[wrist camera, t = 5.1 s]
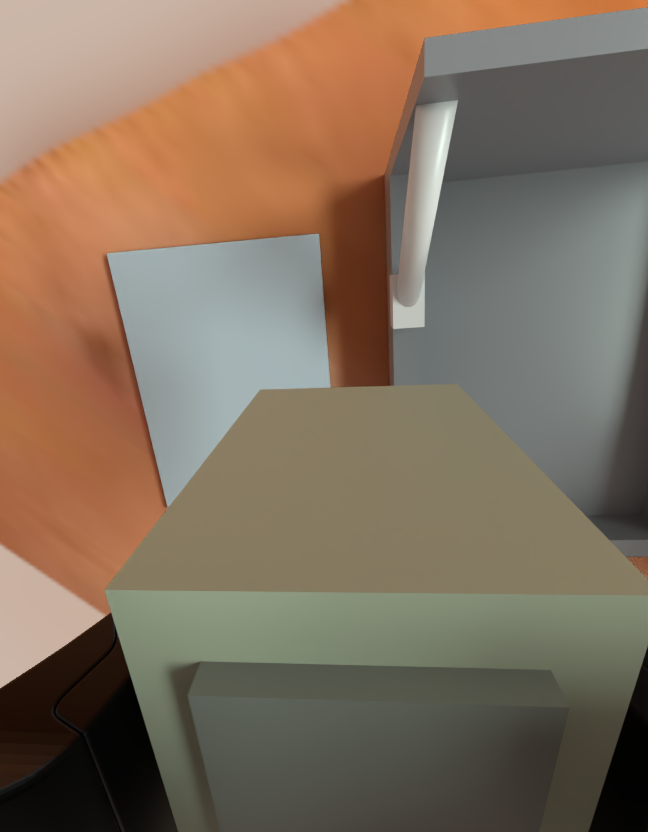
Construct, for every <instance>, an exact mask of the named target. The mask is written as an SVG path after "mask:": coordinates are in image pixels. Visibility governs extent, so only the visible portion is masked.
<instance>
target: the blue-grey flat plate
mask: <svg viewBox="0 0 648 832" xmlns="http://www.w3.org/2000/svg"><path fill="white" fill-rule="evenodd" d="M107 257H108V262H109V266H110V270H111V274H112V278H113V282H114V287H115V291H116V295H117V299H118V303H119V307H120V312H121V316H122V320H123V324H124V328H125V332H126V337H127V341H128V345H129V349H130V353H131V357H132V362H133V366H134V370H135V374H136V378H137V382H138V387H139V391H140V395H141V399H142V403H143V407H144V412H145V416H146V420H147V424H148V428H149V432H150V437H151V441H152V445H153V449H154V453H155V457H156V462H157V466H158V470H159V474H160V478H161V482H162V487H163V491H164V495H165V499H166V503H167V507H169V506H170V505H171V504H172V502H173V501H174V500H175V498H176V497H177V496H178V495H179V493H180V492H181V491H182V489H183V488H184V487H185V486H186V484H187V483H188V482H189V480H190V479H191V478H192V477H193V475H194V474H195V473H196V471H197V470H198V469H199V468H200V466H201V465H202V464H203V462H204V461H205V460H206V459H207V457H208V456H209V455H210V453H211V452H212V451H213V450H214V448H215V447H216V446H217V444H218V443H219V442H220V441H221V439H222V438H223V437H224V435H225V434H226V433H227V432H228V430H229V429H230V428H231V426H232V425H233V424H234V422H235V421H236V420H237V419H238V417H239V416H240V415H241V413H242V412H243V411H244V410H245V408H246V407H247V406H248V404H249V403H250V402H251V401H252V399H253V398H254V397H255V395H256V394H257V393H258V392H259V390H264V389H298V388H331V386H330V373H329V359H328V346H327V333H326V319H325V306H324V292H323V279H322V265H321V252H320V239H319V234H308V235H297V236H286V237H276V238H265V239H255V240H244V241H233V242H223V243H212V244H201V245H191V246H180V247H170V248H159V249H148V250H138V251H127V252H116V253H107Z"/></svg>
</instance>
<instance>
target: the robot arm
mask: <svg viewBox="0 0 648 832" xmlns="http://www.w3.org/2000/svg"><path fill="white" fill-rule="evenodd" d="M0 832H178V830H177V826H176V823H175V820H174V816H173V813H172V810H171V807H170V803H169V800H168V797H167V794H166V790H165V787H164V784H163V780H162V777H161V774H160V771H159V767H158V764H157V761H156V758H155V754H154V751H153V748H152V744H151V741H150V738H149V735H148V731H147V728H146V725H145V722H144V718H143V715H142V712H141V708H140V705H139V702H138V699H137V695H136V692H135V689H134V686H133V682H132V679H131V676H130V672H129V669H128V666H127V663H126V659H125V656H124V653H123V650H122V646H121V643H120V640H119V636H118V633H117V630H116V627H115V623H114V620H113V617H112V614H111V613H110V614H108V615H107V616H105V617H104V618H103V619H101V620H100V621H99V622H97V623H96V624H95V625H93V626H92V627H91V628H89V629H88V630H86V631H85V632H84V633H82V634H81V635H80V636H78V637H77V638H75V639H74V640H72V641H71V642H70V643H68V644H67V645H65V646H64V647H62V648H61V649H59V650H58V651H56V652H55V653H54V654H52V655H51V656H49V657H47V658H46V659H44V660H43V661H41V662H40V663H38V664H37V665H35V666H34V667H32V668H31V669H29V670H28V671H26V672H25V673H23V674H22V675H20V676H19V677H17V678H16V679H14V680H12V681H11V682H9V683H8V684H7V685H5V686H3V687H2V688H0ZM589 832H648V647H647V650H646V653H645V656H644V659H643V663H642V666H641V669H640V672H639V675H638V678H637V681H636V684H635V688H634V691H633V694H632V697H631V700H630V703H629V706H628V710H627V713H626V716H625V719H624V722H623V725H622V728H621V731H620V735H619V738H618V741H617V744H616V747H615V750H614V753H613V757H612V760H611V763H610V766H609V769H608V772H607V775H606V778H605V782H604V785H603V788H602V791H601V794H600V797H599V800H598V803H597V807H596V810H595V813H594V816H593V819H592V822H591V825H590V829H589Z"/></svg>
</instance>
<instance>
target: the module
mask: <svg viewBox="0 0 648 832" xmlns="http://www.w3.org/2000/svg"><path fill="white" fill-rule="evenodd" d="M104 591H105V594H106V597H107V600H108V604H109V607H110V610H111V614H112V617H113V620H114V623H115V627H116V630H117V633H118V636H119V640H120V643H121V646H122V650H123V653H124V656H125V659H126V663H127V666H128V669H129V672H130V676H131V679H132V682H133V686H134V689H135V692H136V695H137V699H138V702H139V705H140V708H141V712H142V715H143V718H144V722H145V725H146V728H147V731H148V735H149V738H150V741H151V744H152V748H153V751H154V754H155V758H156V761H157V764H158V767H159V771H160V774H161V777H162V780H163V784H164V787H165V790H166V794H167V797H168V800H169V803H170V807H171V810H172V813H173V816H174V820H175V823H176V826H177V830H178V832H589V829H590V825H591V822H592V819H593V816H594V813H595V810H596V807H597V803H598V800H599V797H600V794H601V791H602V788H603V785H604V782H605V778H606V775H607V772H608V769H609V766H610V763H611V760H612V757H613V753H614V750H615V747H616V744H617V741H618V738H619V735H620V731H621V728H622V725H623V722H624V719H625V716H626V713H627V710H628V706H629V703H630V700H631V697H632V694H633V691H634V688H635V684H636V681H637V678H638V675H639V672H640V669H641V666H642V663H643V659H644V656H645V653H646V650H647V647H648V579H647V578H646V577H645V576H644V575H643V574H642V573H641V572H640V571H639V570H638V569H637V568H636V567H635V566H634V565H633V564H632V563H631V562H630V561H629V560H628V559H627V558H626V557H625V556H624V555H623V554H622V553H621V552H620V550H619V549H618V548H617V547H616V546H615V545H614V544H613V543H612V542H611V541H610V540H609V539H608V538H607V537H606V536H605V535H604V534H603V533H602V532H601V531H600V530H599V529H598V528H597V527H596V526H595V525H594V524H593V523H592V522H591V521H590V520H589V519H588V518H587V517H586V516H585V515H584V514H583V513H582V511H581V510H580V509H579V508H578V507H577V506H576V505H575V504H574V503H573V502H572V501H571V500H570V499H569V498H568V497H567V496H566V495H565V494H564V493H563V492H562V491H561V490H560V489H559V488H558V487H557V486H556V485H555V484H554V483H553V482H552V481H551V480H550V479H549V478H548V477H547V476H546V475H545V474H544V472H543V471H542V470H541V469H540V468H539V467H538V466H537V465H536V464H535V463H534V462H533V461H532V460H531V459H530V458H529V457H528V456H527V455H526V454H525V453H524V452H523V451H522V450H521V449H520V448H519V447H518V446H517V445H516V444H515V443H514V442H513V441H512V440H511V439H510V438H509V437H508V436H507V435H506V433H505V432H504V431H503V430H502V429H501V428H500V427H499V426H498V425H497V424H496V423H495V422H494V421H493V420H492V419H491V418H490V417H489V416H488V415H487V414H486V413H485V412H484V411H483V410H482V409H481V408H480V407H479V406H478V405H477V404H476V403H475V402H474V401H473V400H472V399H471V398H470V397H469V396H468V394H467V393H466V392H465V391H464V390H463V389H462V388H461V387H460V386H459V385H458V384H435V385H401V386H367V387H332V388H298V389H264V390H259V392H258V393H257V394H256V395H255V397H254V398H253V399H252V401H251V402H250V403H249V404H248V406H247V407H246V408H245V410H244V411H243V412H242V413H241V415H240V416H239V417H238V419H237V420H236V421H235V422H234V424H233V425H232V426H231V428H230V429H229V430H228V432H227V433H226V434H225V435H224V437H223V438H222V439H221V441H220V442H219V443H218V444H217V446H216V447H215V448H214V450H213V451H212V452H211V453H210V455H209V456H208V457H207V459H206V460H205V461H204V462H203V464H202V465H201V466H200V468H199V469H198V470H197V471H196V473H195V474H194V475H193V477H192V478H191V479H190V480H189V482H188V483H187V484H186V486H185V487H184V488H183V489H182V491H181V492H180V493H179V495H178V496H177V497H176V498H175V500H174V501H173V502H172V504H171V505H170V506H169V507H168V509H167V510H166V511H165V513H164V514H163V515H162V516H161V518H160V519H159V520H158V522H157V523H156V524H155V525H154V527H153V528H152V529H151V531H150V532H149V533H148V534H147V536H146V537H145V538H144V540H143V541H142V542H141V543H140V545H139V546H138V547H137V549H136V550H135V551H134V552H133V554H132V555H131V556H130V558H129V559H128V560H127V561H126V563H125V564H124V565H123V567H122V568H121V569H120V571H119V572H118V573H117V574H116V576H115V577H114V578H113V580H112V581H111V582H110V583H109V585H108V586H107V587H106V589H105V590H104Z"/></svg>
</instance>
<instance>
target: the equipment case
mask: <svg viewBox="0 0 648 832" xmlns="http://www.w3.org/2000/svg"><path fill="white" fill-rule="evenodd" d="M385 215H386V257H387V299H388V342H389V384H390V386H401V385H435V384H458V385H459V386H460V387H461V388H462V389H463V390H464V391H465V392H466V393H467V394H468V396H469V397H470V398H471V399H472V400H473V401H474V402H475V403H476V404H477V405H478V406H479V407H480V408H481V409H482V410H483V411H484V412H485V413H486V414H487V415H488V416H489V417H490V418H491V419H492V420H493V421H494V422H495V423H496V424H497V425H498V426H499V427H500V428H501V429H502V430H503V431H504V432H505V433H506V435H507V436H508V437H509V438H510V439H511V440H512V441H513V442H514V443H515V444H516V445H517V446H518V447H519V448H520V449H521V450H522V451H523V452H524V453H525V454H526V455H527V456H528V457H529V458H530V459H531V460H532V461H533V462H534V463H535V464H536V465H537V466H538V467H539V468H540V469H541V470H542V471H543V472H544V474H545V475H546V476H547V477H548V478H549V479H550V480H551V481H552V482H553V483H554V484H555V485H556V486H557V487H558V488H559V489H560V490H561V491H562V492H563V493H564V494H565V495H566V496H567V497H568V498H569V499H570V500H571V501H572V502H573V503H574V504H575V505H576V506H577V507H578V508H579V509H580V510H581V511H582V513H583V514H584V515H585V516H586V517H587V518H588V519H589V520H590V521H591V522H592V523H593V524H594V525H595V526H596V527H597V528H598V529H599V530H600V531H601V532H602V533H603V534H604V535H605V536H606V537H607V538H608V539H609V540H610V541H611V542H612V543H613V544H614V545H615V546H616V547H617V548H618V549H619V550H620V552H621V553H622V554H623V555H624V556H625V557H648V7H646V8H639V9H632V10H625V11H617V12H610V13H603V14H596V15H588V16H581V17H574V18H567V19H559V20H552V21H545V22H538V23H530V24H523V25H516V26H509V27H501V28H494V29H487V30H479V31H472V32H465V33H458V34H450V35H443V36H436V37H429V38H424V42H423V45H422V49H421V52H420V55H419V59H418V62H417V66H416V69H415V72H414V76H413V79H412V83H411V86H410V89H409V93H408V96H407V100H406V103H405V107H404V110H403V113H402V117H401V120H400V124H399V127H398V130H397V134H396V137H395V141H394V144H393V147H392V151H391V154H390V158H389V161H388V164H387V168H386V171H385Z"/></svg>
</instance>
